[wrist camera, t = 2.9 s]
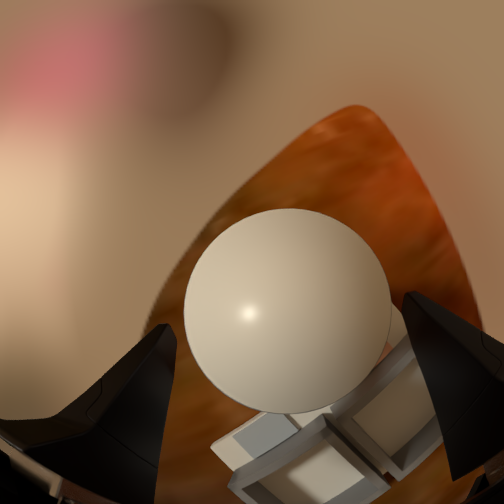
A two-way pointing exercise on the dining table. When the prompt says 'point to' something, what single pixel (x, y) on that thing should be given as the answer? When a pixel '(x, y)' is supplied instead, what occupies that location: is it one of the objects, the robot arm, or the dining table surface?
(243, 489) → the socket board
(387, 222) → the dining table surface
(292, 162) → the dining table surface
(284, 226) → the plug
